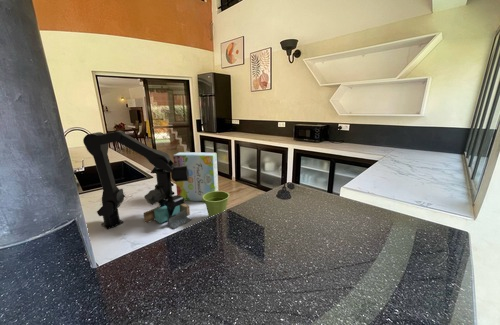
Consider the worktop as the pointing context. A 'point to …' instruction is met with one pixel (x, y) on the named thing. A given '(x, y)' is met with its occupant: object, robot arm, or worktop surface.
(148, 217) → the tan wooden l-shaped piece
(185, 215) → the bookend
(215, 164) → the snack box
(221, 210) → the plant pot
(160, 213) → the teal rectangular block
